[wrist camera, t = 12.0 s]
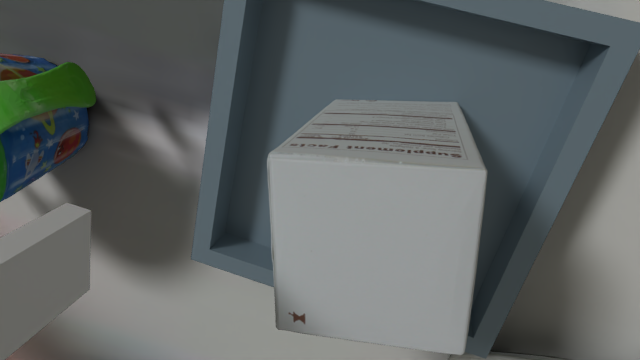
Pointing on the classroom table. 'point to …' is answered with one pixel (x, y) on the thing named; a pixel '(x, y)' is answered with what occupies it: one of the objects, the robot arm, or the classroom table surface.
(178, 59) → the classroom table surface
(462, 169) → the supplement box
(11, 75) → the snack cup
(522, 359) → the square plate
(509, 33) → the tray
